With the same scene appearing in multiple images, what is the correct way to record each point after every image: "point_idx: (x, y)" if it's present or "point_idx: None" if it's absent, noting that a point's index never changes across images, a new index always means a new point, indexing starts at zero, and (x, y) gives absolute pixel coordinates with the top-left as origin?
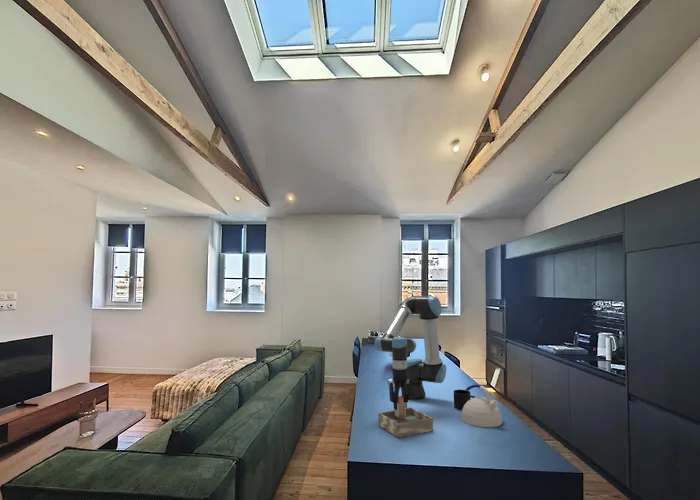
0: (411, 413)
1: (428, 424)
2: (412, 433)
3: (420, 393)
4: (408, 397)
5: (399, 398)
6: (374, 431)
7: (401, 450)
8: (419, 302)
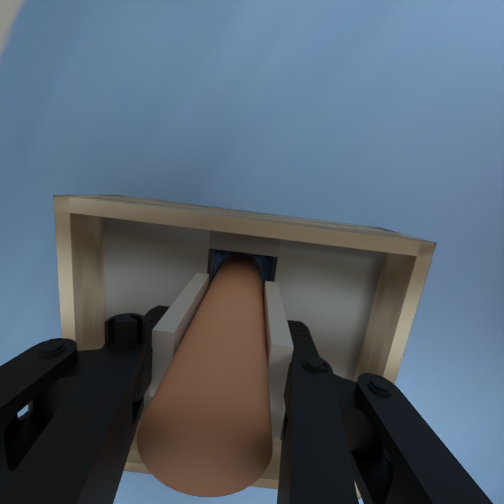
0: (389, 256)
1: None
2: None
3: None
4: (356, 479)
5: (160, 463)
6: (45, 260)
7: None
8: None
